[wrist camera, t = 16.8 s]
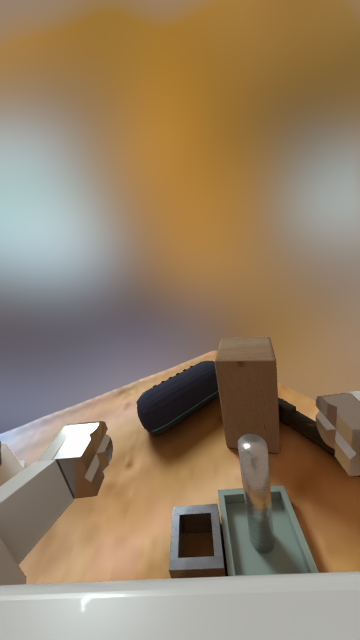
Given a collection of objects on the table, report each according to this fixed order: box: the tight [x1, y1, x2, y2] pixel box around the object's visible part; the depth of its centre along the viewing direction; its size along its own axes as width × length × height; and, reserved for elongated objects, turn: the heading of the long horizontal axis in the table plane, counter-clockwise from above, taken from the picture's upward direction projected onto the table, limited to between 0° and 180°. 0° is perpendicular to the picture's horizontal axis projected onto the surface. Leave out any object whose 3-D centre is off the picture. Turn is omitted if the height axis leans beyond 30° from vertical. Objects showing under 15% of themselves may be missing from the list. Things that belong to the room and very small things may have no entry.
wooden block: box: [215, 337, 280, 454], centre depth 42 cm, size 10×10×20 cm
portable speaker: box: [137, 361, 219, 435], centre depth 54 cm, size 25×10×10 cm, turn 125°
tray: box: [218, 485, 319, 576], centre depth 28 cm, size 10×10×2 cm
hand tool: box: [278, 398, 360, 477], centre depth 41 cm, size 19×4×5 cm, turn 26°
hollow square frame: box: [169, 504, 226, 579], centre depth 28 cm, size 6×6×4 cm
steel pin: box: [238, 434, 275, 554], centre depth 26 cm, size 3×3×16 cm
